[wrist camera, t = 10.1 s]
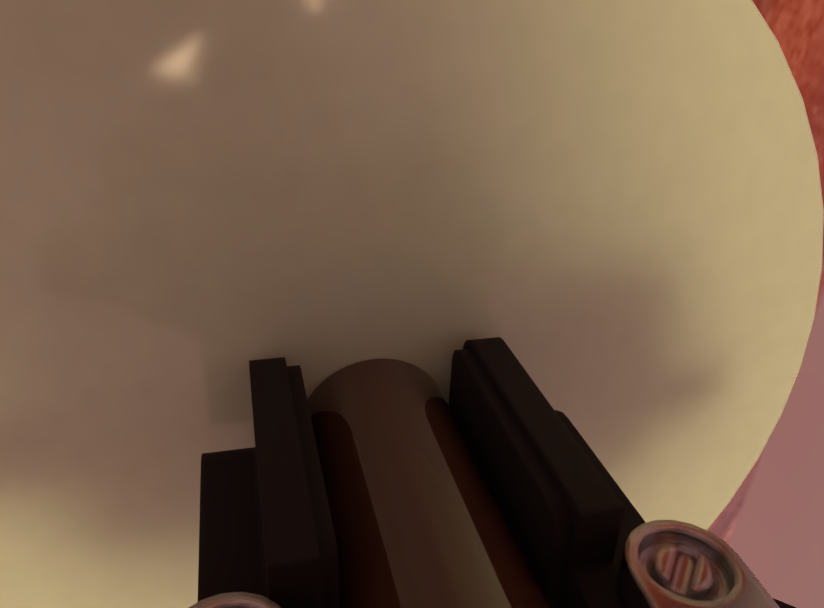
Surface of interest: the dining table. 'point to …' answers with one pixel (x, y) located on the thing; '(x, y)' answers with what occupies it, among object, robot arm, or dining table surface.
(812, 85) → the dining table surface
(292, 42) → the lid
